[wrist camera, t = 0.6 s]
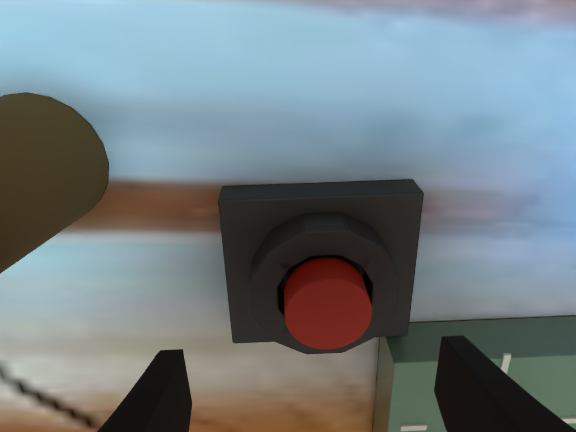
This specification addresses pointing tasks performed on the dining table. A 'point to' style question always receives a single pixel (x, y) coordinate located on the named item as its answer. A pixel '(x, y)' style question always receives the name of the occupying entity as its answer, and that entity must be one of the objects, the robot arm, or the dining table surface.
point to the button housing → (318, 250)
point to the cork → (44, 172)
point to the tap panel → (496, 346)
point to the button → (326, 303)
